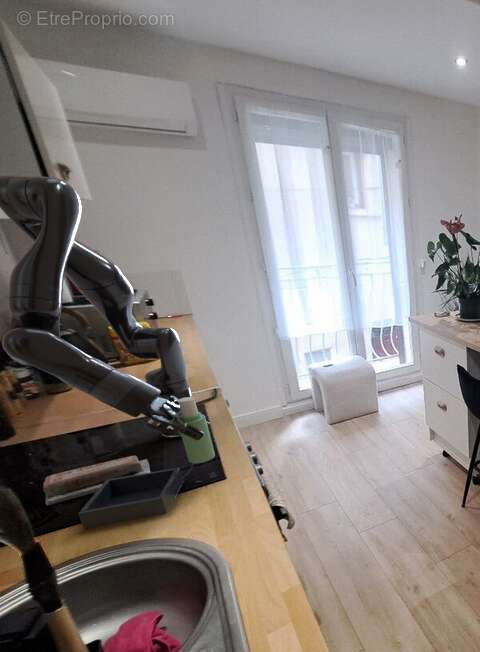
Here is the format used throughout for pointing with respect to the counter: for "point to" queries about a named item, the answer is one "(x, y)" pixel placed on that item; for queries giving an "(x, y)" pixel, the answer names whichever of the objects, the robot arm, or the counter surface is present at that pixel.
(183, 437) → the bottle
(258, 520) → the counter surface
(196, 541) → the counter surface
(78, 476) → the packaged product
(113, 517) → the tray
